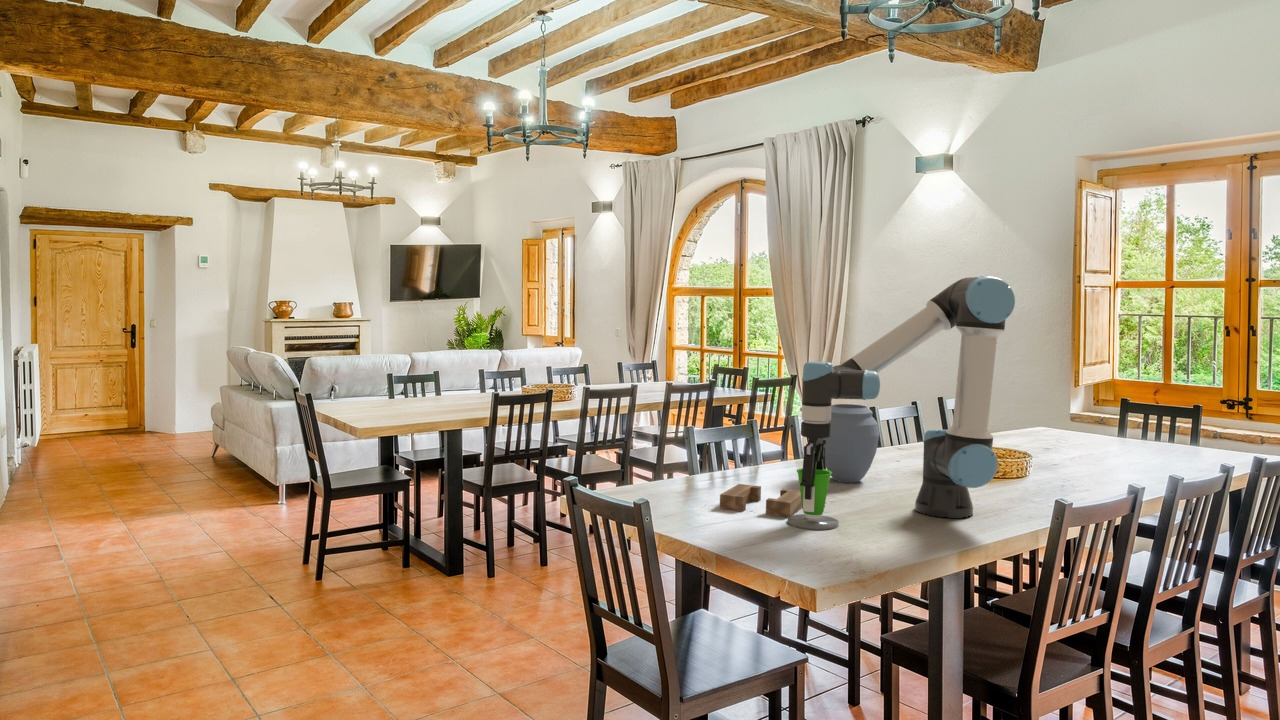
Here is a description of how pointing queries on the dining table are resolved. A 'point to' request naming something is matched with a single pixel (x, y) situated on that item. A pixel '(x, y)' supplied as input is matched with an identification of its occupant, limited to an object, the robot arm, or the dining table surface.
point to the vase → (851, 442)
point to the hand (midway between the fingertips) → (813, 507)
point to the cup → (817, 489)
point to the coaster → (813, 522)
